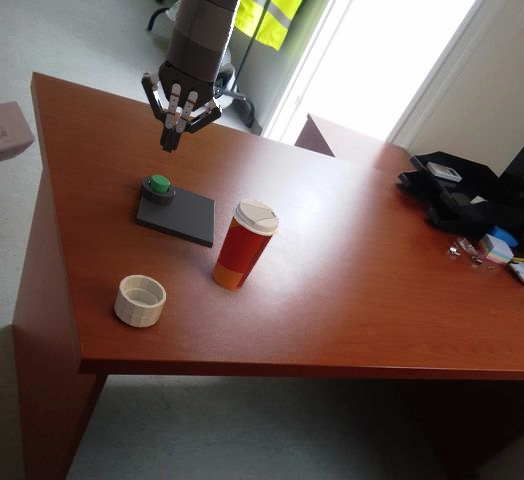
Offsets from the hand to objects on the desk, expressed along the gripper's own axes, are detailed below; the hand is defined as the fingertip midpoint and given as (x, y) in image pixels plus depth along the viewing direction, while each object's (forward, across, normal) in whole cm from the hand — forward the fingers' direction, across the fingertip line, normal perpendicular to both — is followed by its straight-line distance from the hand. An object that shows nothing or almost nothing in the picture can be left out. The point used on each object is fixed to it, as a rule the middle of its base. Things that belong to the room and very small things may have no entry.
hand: (167, 149), depth 74 cm
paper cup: (+13, +15, -12) cm, 23 cm away
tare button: (+10, +1, +5) cm, 11 cm away
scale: (+12, +5, +3) cm, 14 cm away
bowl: (+13, +1, -26) cm, 29 cm away
